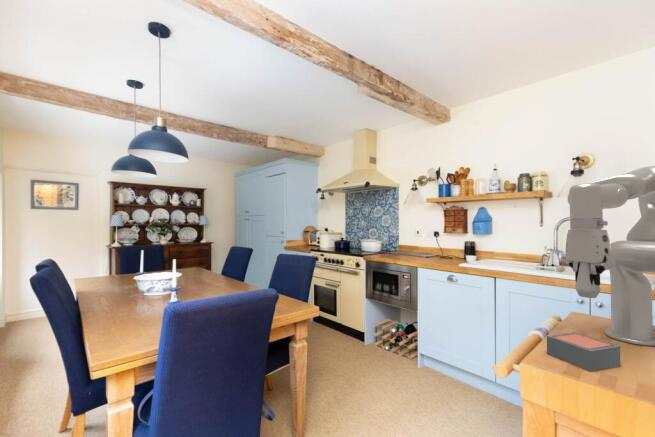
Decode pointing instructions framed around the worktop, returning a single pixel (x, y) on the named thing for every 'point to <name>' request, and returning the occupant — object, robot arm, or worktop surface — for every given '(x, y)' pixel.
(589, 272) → the grey bowling pin
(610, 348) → the press housing
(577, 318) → the worktop surface
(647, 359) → the worktop surface
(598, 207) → the robot arm
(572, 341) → the pan
